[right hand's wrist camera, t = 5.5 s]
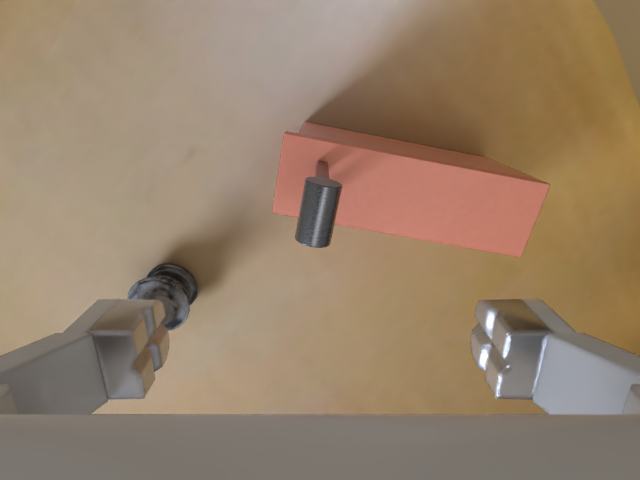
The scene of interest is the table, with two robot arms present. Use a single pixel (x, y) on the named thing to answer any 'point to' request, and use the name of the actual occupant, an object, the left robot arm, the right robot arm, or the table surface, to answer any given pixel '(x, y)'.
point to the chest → (407, 148)
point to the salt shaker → (168, 293)
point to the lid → (402, 196)
